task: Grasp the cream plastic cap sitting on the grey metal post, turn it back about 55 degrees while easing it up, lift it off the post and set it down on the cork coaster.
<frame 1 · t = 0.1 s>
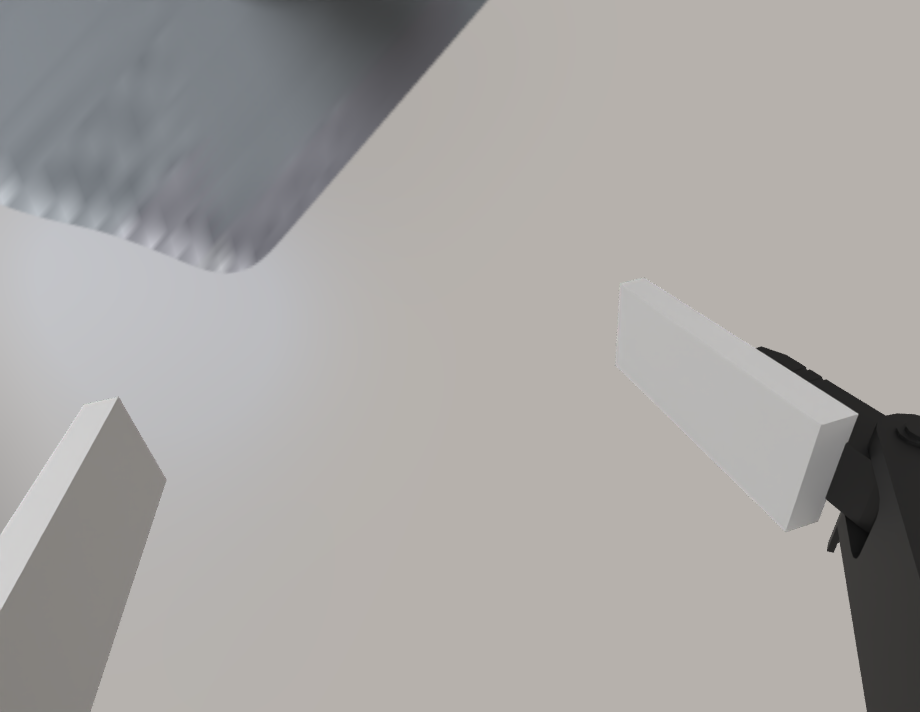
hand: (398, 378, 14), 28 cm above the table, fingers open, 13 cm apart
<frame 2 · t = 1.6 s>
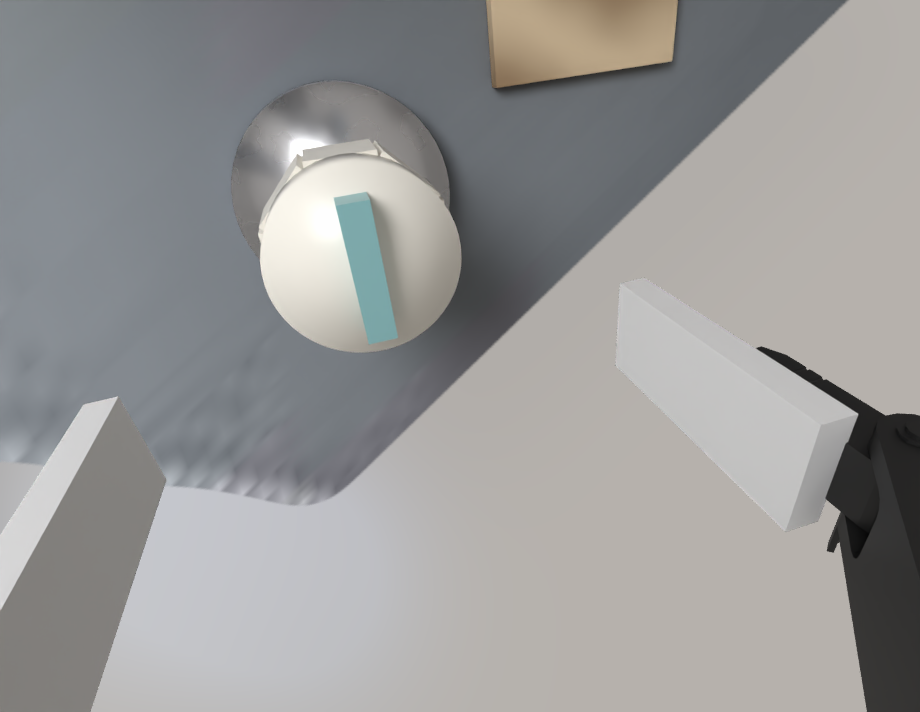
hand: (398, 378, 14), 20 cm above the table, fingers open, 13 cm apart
cap: (355, 229, 24), point 7 cm above the table, touching bayonet post
bayonet post: (345, 195, 30), on the table
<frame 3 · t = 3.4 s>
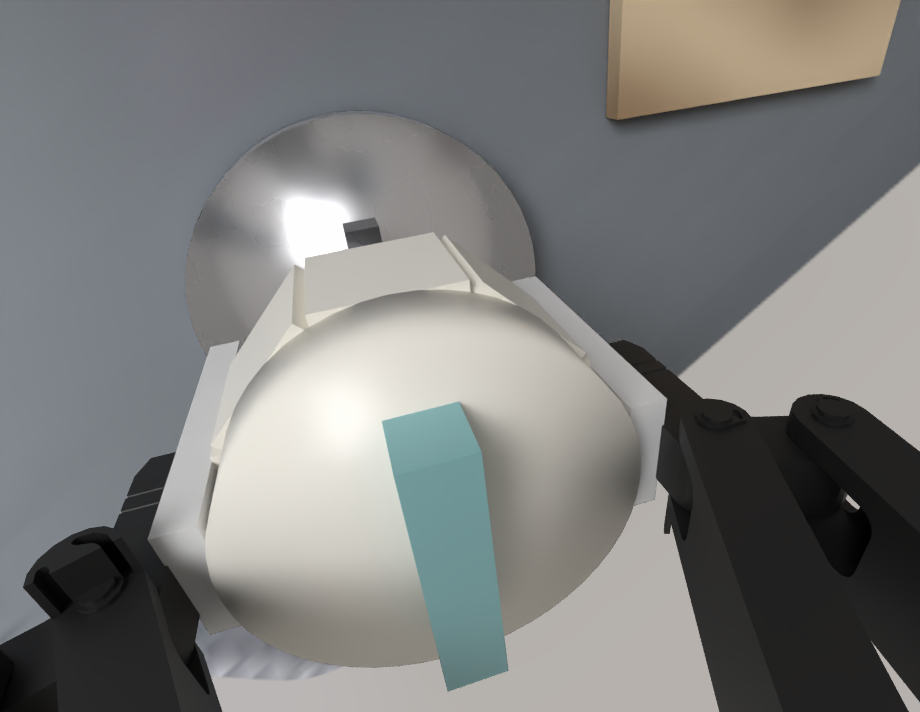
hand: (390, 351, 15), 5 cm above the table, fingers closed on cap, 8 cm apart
cap: (400, 385, 13), point 7 cm above the table, touching bayonet post, gripper
bayonet post: (371, 286, 19), on the table
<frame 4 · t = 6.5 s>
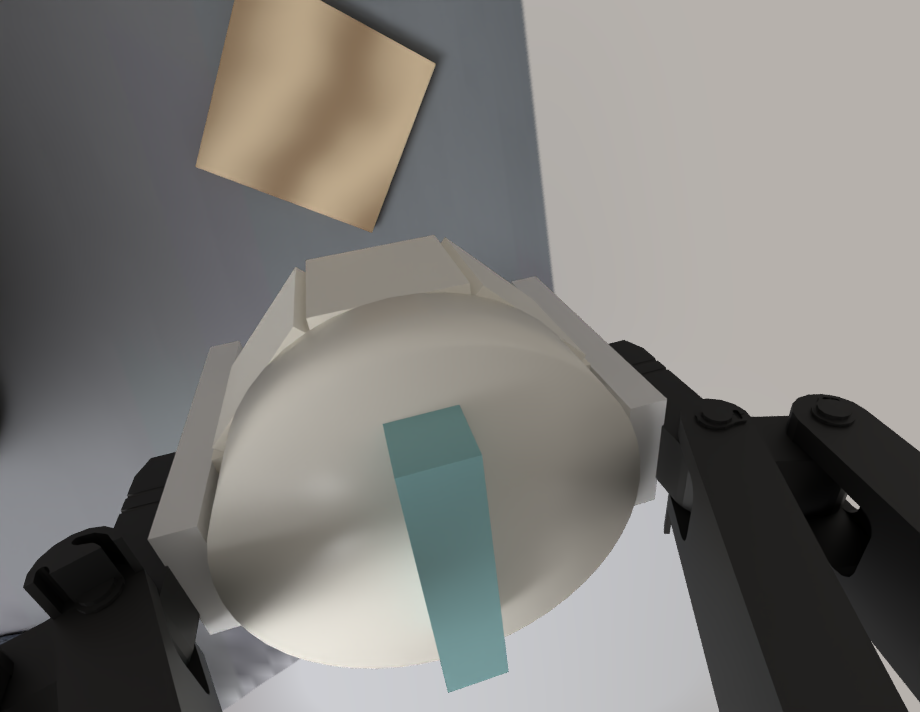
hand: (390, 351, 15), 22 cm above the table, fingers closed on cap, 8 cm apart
coaster: (316, 113, 31), on the table
cap: (401, 387, 13), point 24 cm above the table, touching gripper
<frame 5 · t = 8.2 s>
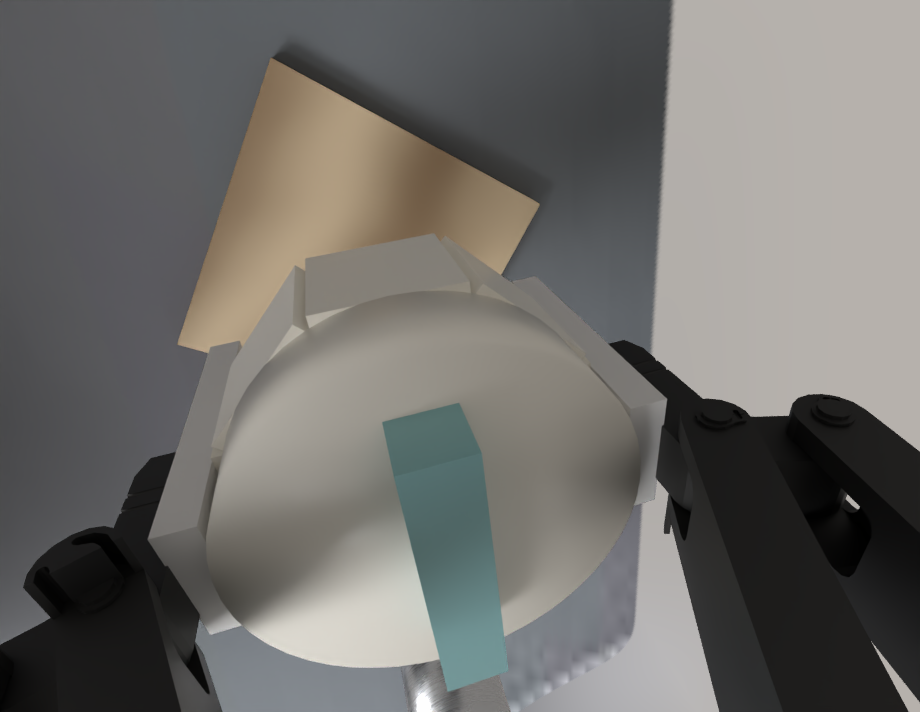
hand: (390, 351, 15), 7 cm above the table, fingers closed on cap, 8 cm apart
coaster: (361, 265, 21), on the table
cap: (400, 386, 13), point 9 cm above the table, touching gripper
bayonet post: (419, 549, 31), on the table
when the fingers open (1 cm above the table, at t = 9.7 s): cap drops 2 cm, resting on coaster.
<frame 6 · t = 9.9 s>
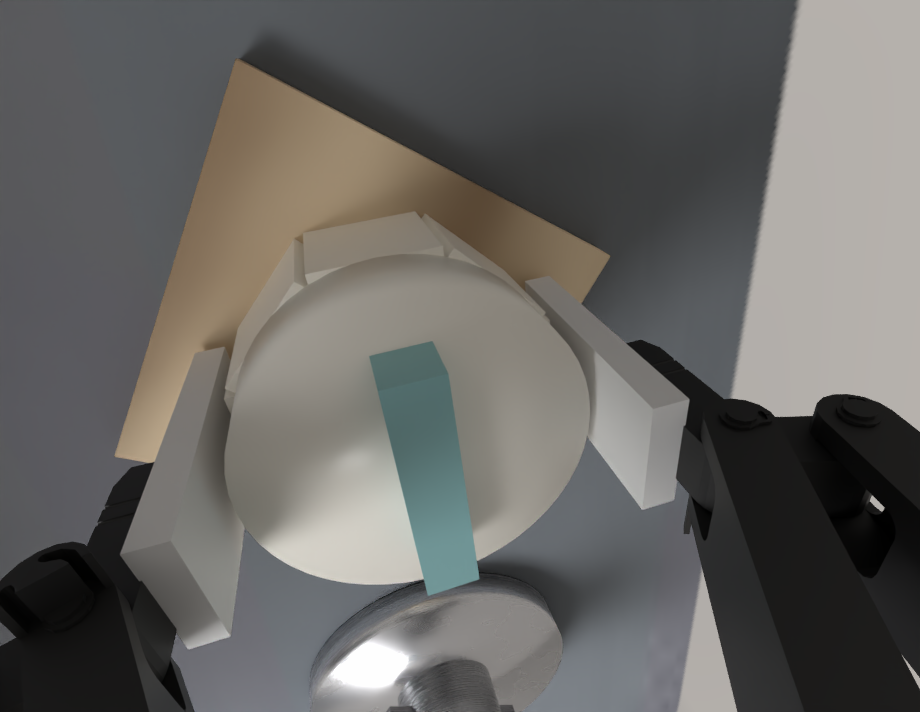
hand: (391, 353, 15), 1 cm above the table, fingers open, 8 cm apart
coaster: (369, 339, 16), on the table
cap: (388, 349, 15), point 1 cm above the table, touching coaster
bayonet post: (436, 657, 25), on the table
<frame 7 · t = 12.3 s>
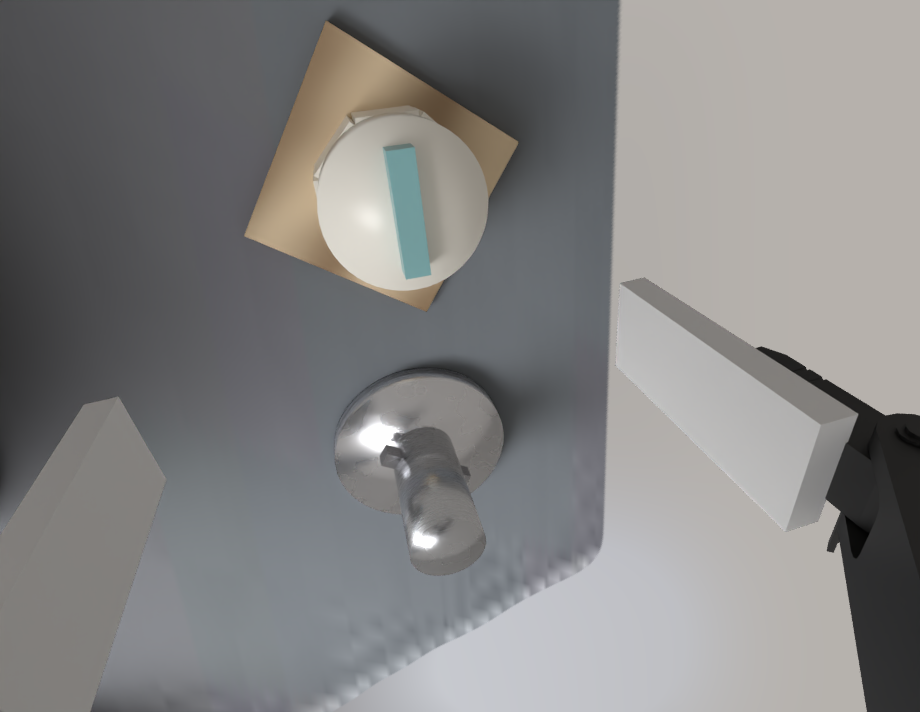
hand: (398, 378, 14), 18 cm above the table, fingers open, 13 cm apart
coaster: (382, 185, 28), on the table
cap: (392, 187, 27), point 1 cm above the table, touching coaster
bayonet post: (418, 438, 37), on the table
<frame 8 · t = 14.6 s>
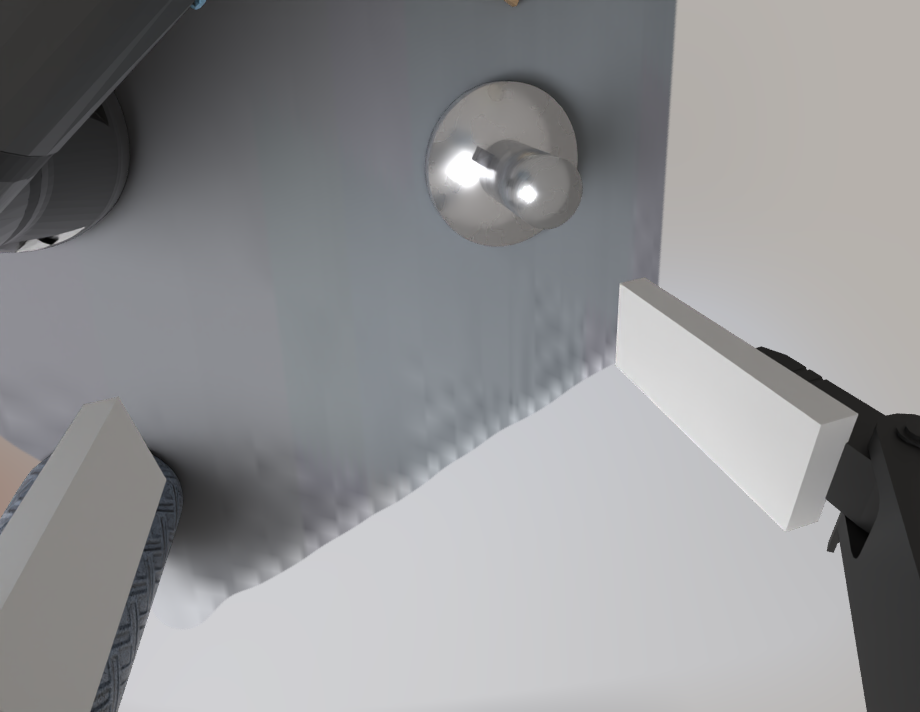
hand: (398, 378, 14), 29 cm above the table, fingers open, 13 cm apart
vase: (110, 491, 46), on the table
bayonet post: (499, 166, 40), on the table
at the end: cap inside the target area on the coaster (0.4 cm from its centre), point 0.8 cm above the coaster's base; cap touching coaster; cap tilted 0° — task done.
